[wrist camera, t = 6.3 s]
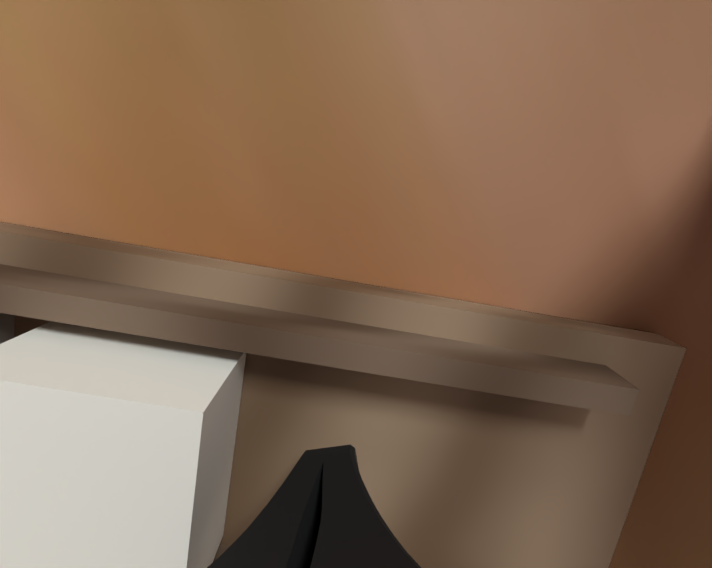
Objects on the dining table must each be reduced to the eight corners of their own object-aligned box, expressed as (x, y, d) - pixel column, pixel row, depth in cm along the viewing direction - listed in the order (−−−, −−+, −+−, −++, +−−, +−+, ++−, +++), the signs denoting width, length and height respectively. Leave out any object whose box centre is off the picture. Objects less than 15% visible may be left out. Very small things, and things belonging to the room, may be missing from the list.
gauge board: (657, 333, 13) (843, 426, 8) (543, 672, 16) (628, 897, 11) (-98, 205, 13) (-406, 219, 7) (-79, 583, 15) (-295, 780, 10)
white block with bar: (247, 347, 12) (202, 412, 9) (208, 650, 14) (161, 796, 11) (60, 317, 12) (-60, 370, 8) (51, 628, 14) (-47, 769, 11)
